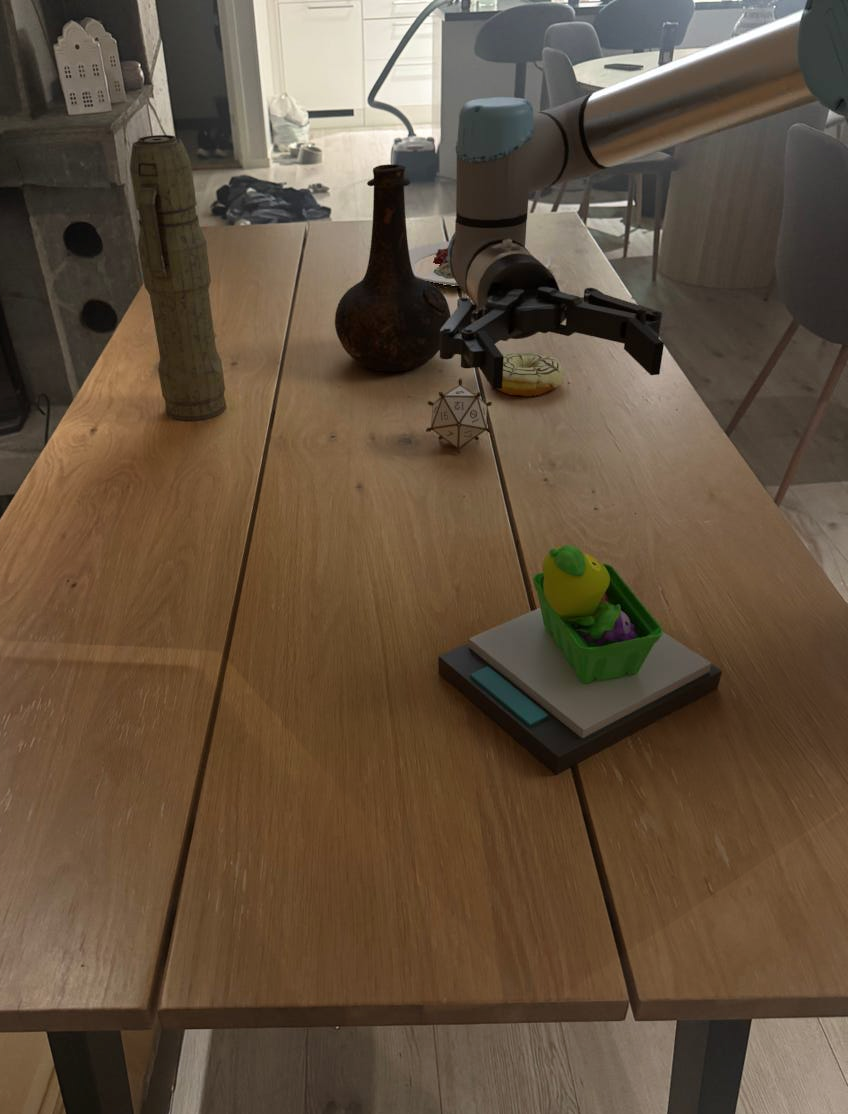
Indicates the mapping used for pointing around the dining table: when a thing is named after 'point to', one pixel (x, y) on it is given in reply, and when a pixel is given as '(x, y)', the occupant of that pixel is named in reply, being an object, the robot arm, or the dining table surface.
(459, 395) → the game die
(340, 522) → the dining table surface
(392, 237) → the glass bottle
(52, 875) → the dining table surface
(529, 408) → the dining table surface
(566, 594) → the fruit basket
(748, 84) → the robot arm
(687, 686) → the kitchen scale
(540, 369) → the decorated donut
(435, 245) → the plated food
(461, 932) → the dining table surface
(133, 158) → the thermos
